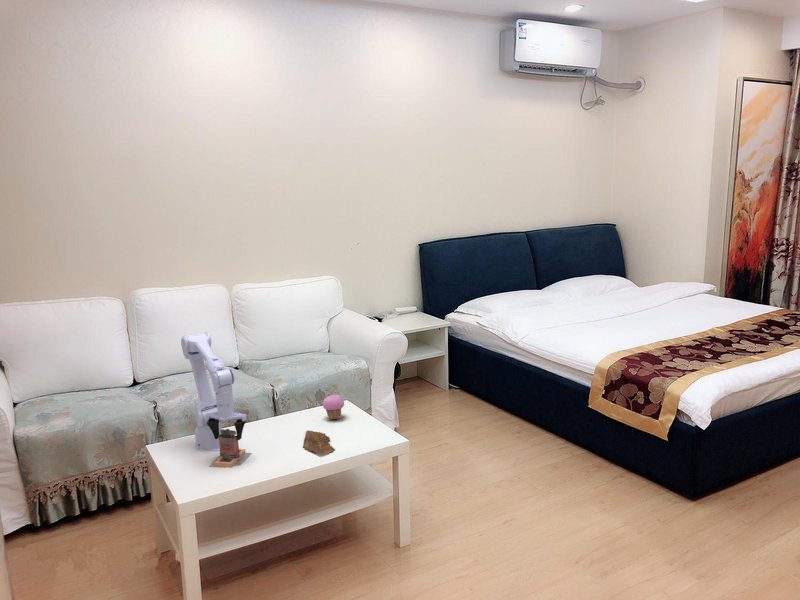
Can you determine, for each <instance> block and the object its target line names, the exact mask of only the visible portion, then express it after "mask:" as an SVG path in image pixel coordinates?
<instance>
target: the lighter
mask: <svg viewBox="0 0 800 600" xmlns="http://www.w3.org/2000/svg"><path fill="white" fill-rule="evenodd" d="M218 439H219V447H220V450H219V456H222V457H225V458H234V459H236V458H239V457H240V453H239V449H240V446H239V440H237V433H236V430H232V429H229V428H226V429H224V428H222V430H221V434H220V435H218Z"/></svg>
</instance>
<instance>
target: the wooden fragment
mask: <svg viewBox="0 0 800 600" xmlns="http://www.w3.org/2000/svg"><path fill="white" fill-rule="evenodd" d="M330 440H331V439H330V436H328V435H326V433H323V432H321V431H313V430H310V429H309V430H306V432H305V437H304V439H303V445H302V448H303V449H304V450H305V451H307V452H309V453H311V454H314V455H316V456H318V457H320V458H322V457H326V456H329V455H330V454H331V453H333V452H334V451H335V450H336V448H334V447H333V446H332V445H331V443H329V441H330Z"/></svg>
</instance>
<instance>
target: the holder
mask: <svg viewBox="0 0 800 600" xmlns="http://www.w3.org/2000/svg"><path fill="white" fill-rule="evenodd" d="M239 453H240V457H239V458H236V459H234V458H225V457H222V456H220V455H218V456H217V457H216V459H214V460H213V462H211V463H210V464H209V465H208V468H226V469H227V468H231V469H232V468H234V467H238V466H242V464H243V463H245V461H246V460H247V459H248V458H249V457H250V456H251V455H252V452H246V449H245V448H239Z"/></svg>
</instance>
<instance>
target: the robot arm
mask: <svg viewBox="0 0 800 600" xmlns="http://www.w3.org/2000/svg"><path fill="white" fill-rule="evenodd" d="M180 339H181V341H180V345H181V350H182V353H183V357H184V359H185V360H189V363H190V365H191V371H192V374H193V378H194V382H195V385H196V388H197V389H196V390H197V393H198V398H199V402H198V404H197V405H196V406H195V408H194V416H195V421H196V424H197V425H196V428H195V430H194V439H195V446H196V448H195V451H204V452H220V447H219V439H218V435H220V434H221V430H222V429H223V428H222V425H223V424H224V421H225V420H226V421H235V422H234V424H233V425H234V427H235V431H236V436H237V440H238V441H241V439H243V438H242V435H243V432H244V431H243V430H244V427H245V424H246V422H247V419H248V417H247V416H248V415H247V413H242V412H241V413H240V412H237V411H236V412H235V408H234V395H233V384H234V383H235V375H234V372H233V370H232V368H230V367H228V366H226V365H225V364H224V363H223V361H222V359H221V358H220V357H219V356H217V355H215V354H214V352H213V349H212V337H211V335H210V333H209V332H207V331H204V332H200V333H199V332H198V333H194V334H190V335H184V336H182V337H181V338H180ZM208 373H209V375H210V377H211V383H210V380H209V377H208ZM211 384H212V386H213V387H211ZM212 388H213V390H214V392H215V397H214V395H213V391H212Z"/></svg>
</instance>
